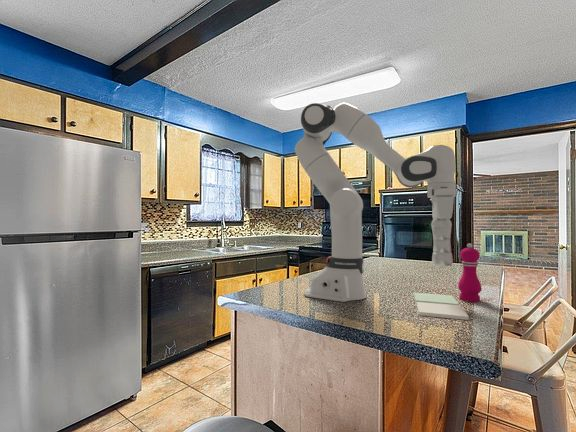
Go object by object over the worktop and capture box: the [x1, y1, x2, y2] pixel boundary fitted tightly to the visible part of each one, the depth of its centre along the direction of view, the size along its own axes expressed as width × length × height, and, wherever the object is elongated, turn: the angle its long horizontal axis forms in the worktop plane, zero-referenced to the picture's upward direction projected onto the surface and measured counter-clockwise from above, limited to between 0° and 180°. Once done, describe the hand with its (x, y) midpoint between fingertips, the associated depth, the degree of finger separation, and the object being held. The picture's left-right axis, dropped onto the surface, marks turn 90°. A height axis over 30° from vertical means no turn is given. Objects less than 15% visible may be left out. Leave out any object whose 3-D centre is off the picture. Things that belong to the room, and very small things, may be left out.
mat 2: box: [415, 302, 470, 321], centre depth 96 cm, size 13×12×1 cm
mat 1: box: [413, 292, 460, 306], centre depth 109 cm, size 13×12×1 cm
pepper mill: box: [457, 243, 483, 303], centre depth 111 cm, size 7×7×20 cm
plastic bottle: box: [430, 209, 454, 268], centre depth 109 cm, size 6×7×20 cm
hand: (441, 232), depth 109 cm, fingers closed on plastic bottle, 6 cm apart
